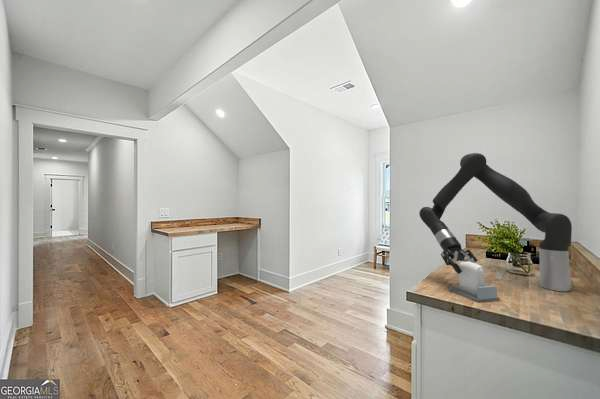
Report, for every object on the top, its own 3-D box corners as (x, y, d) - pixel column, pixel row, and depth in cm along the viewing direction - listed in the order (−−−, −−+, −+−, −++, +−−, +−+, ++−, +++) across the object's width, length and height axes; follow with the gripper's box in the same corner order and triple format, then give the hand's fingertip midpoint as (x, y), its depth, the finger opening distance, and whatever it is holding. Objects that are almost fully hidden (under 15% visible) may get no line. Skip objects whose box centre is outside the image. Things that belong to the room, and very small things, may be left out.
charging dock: (468, 288, 112) (468, 276, 112) (499, 300, 98) (498, 286, 98) (449, 290, 110) (449, 277, 110) (477, 302, 96) (477, 288, 96)
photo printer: (457, 288, 110) (456, 259, 110) (465, 287, 111) (464, 259, 111) (478, 296, 100) (477, 265, 100) (487, 295, 100) (486, 264, 101)
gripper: (438, 236, 113) (459, 268, 102) (465, 235, 116) (488, 266, 105) (430, 246, 119) (449, 277, 107) (456, 245, 121) (477, 275, 110)
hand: (468, 272), depth 106 cm, fingers open, 8 cm apart
